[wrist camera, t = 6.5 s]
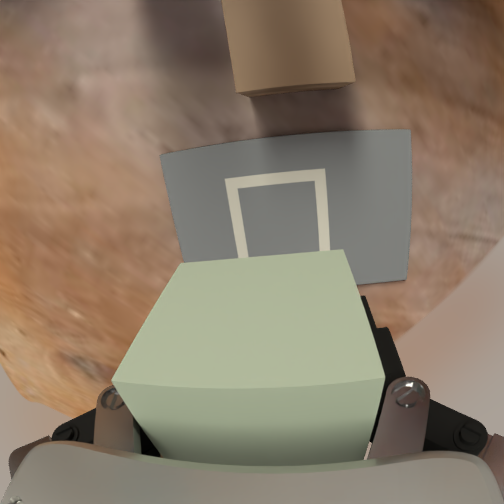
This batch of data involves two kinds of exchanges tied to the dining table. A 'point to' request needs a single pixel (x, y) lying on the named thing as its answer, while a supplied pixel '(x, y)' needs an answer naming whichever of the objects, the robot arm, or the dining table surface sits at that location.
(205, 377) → the sage block
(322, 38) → the walnut block
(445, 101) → the dining table surface
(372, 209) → the felt mat
